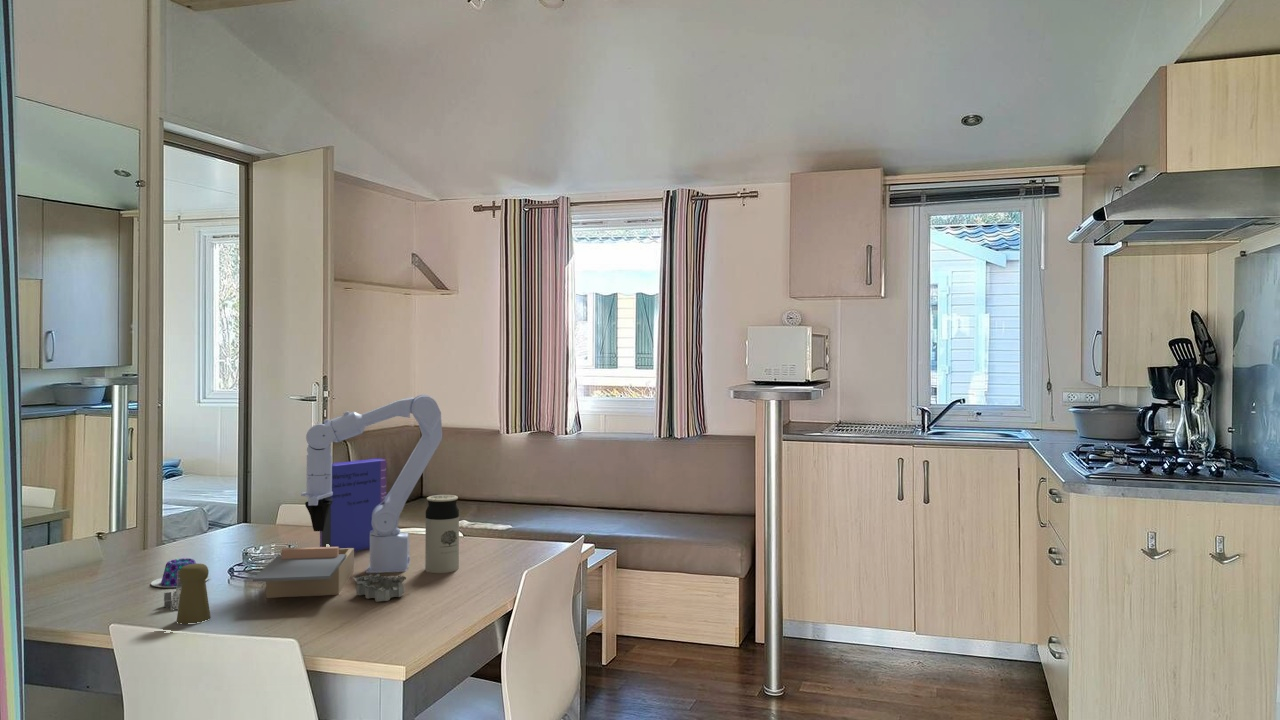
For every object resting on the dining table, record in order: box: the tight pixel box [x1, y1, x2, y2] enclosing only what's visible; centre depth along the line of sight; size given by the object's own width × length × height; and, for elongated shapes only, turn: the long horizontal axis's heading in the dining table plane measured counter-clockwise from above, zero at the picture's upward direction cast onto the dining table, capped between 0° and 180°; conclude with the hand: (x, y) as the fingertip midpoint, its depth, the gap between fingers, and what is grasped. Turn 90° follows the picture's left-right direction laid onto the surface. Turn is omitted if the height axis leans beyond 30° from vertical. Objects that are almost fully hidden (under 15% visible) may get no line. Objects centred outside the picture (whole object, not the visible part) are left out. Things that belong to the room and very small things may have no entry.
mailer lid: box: [252, 546, 346, 582], centre depth 185 cm, size 15×20×3 cm
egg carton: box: [352, 573, 407, 603], centre depth 186 cm, size 11×8×4 cm
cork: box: [176, 562, 211, 624], centre depth 169 cm, size 6×6×11 cm
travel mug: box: [424, 494, 460, 574], centre depth 209 cm, size 8×8×18 cm
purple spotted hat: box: [150, 558, 211, 589], centre depth 198 cm, size 12×12×5 cm
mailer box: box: [265, 548, 355, 599], centre depth 196 cm, size 15×20×6 cm
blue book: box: [319, 458, 387, 552], centre depth 231 cm, size 17×5×24 cm, turn 144°
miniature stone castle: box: [163, 570, 182, 611], centre depth 179 cm, size 9×9×8 cm
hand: (318, 530), depth 205 cm, fingers closed
